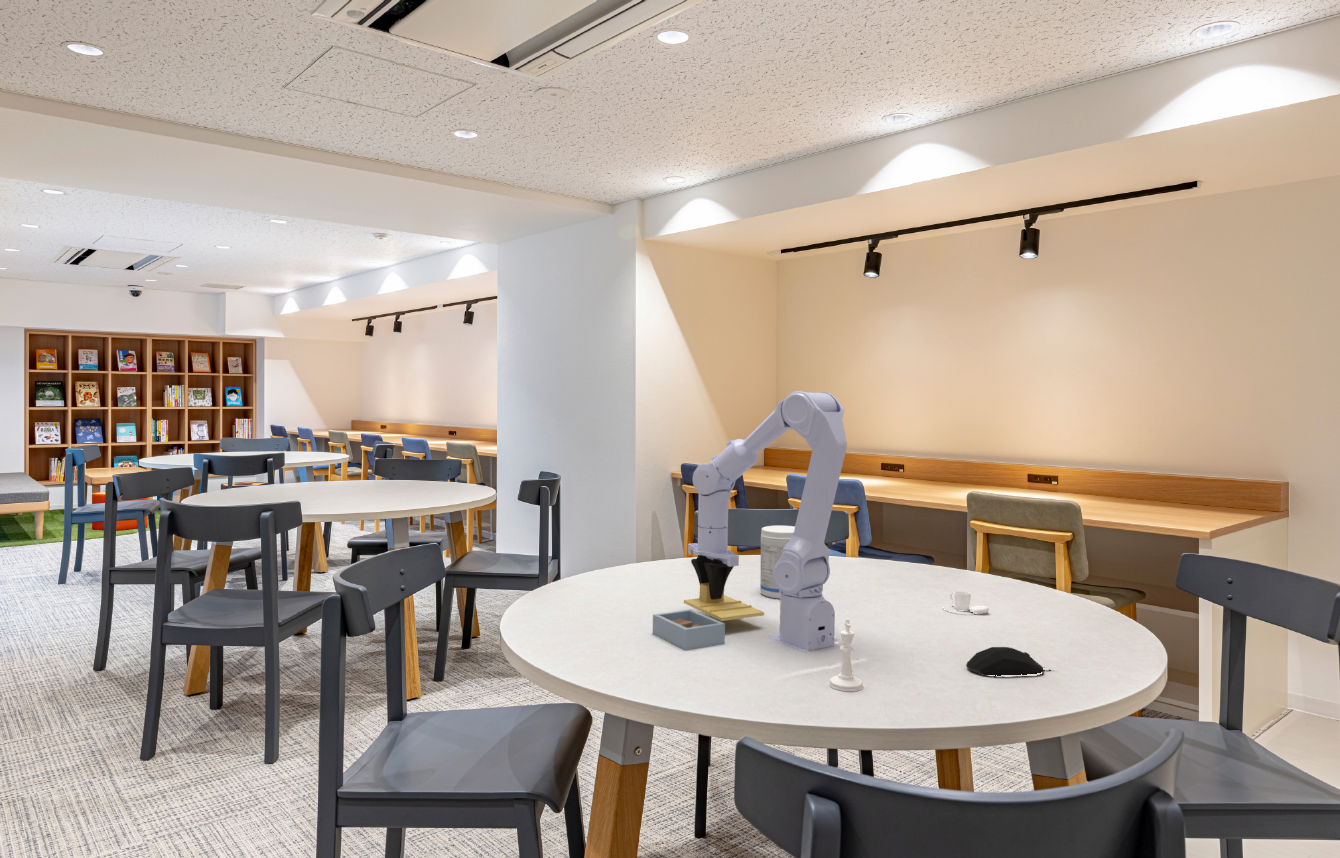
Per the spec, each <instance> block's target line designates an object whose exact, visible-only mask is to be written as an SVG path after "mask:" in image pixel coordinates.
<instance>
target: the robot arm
mask: <svg viewBox="0 0 1340 858" xmlns="http://www.w3.org/2000/svg"><path fill="white" fill-rule="evenodd" d="M844 413H845V409H844V407H843V406H842V405H841V403H840V401H839V400H838V399H837V397H835V396H834V395H833V394H832V393H830V392H825V391H824V392H823V391H822V392H809V391H808V392H805V391H799V390H796V391H793V392H790V393H789V394H787V396H785V398H784V399H782V400H780V401H779V402H778V403H777V404H776V407H775V409H773V411H772V412H771V413H770V414H769V415H768V416H767V417H766V418H765V419H764V420H763V421H761V422H760V424H759V425H757V427H756V428H755V429H754V430H753V431H752V432H751V433H750V434H749V435H748V436H747V437H746V438H745V439H742V438H737V439H731V440H729V441H727V443H726V445H727V447H725V448H724V449H723V450H722V451H721V452H720V453H718V455H714V456H713V457H711V461H710V462H709V463H701V464H699V465H697V467H696V469H695V470H694V471H693V473H692V484H693V488H694V489H695V491H696V492H697V494H698V503H697V504H698V505H697V506H698V512H697V514H698V515H697V516H698V517H697V542H694V543H688V544H687V553H688V554H689V555H696V556H697V557H696V558H692V559H691V561H690V562H691V565H692V567H693V568H694V570H695V573H696V575H697V579H698V583H699V585H700V583H709V591H710V598H711V599H712V600H714V599H721V598H722V594H723V590H724V591H725V588H726V587H725V586H726V583H727V581H728V578H729V575H730V574H731V572H732V571H733V569H734V568H735V567H739V565H740V564H739V562H740V560H739V559H740V558H739V557H740V556H739V555H738V554H736V553H734V552H732V551H731V550H730V549H728V542H729V541H728V539H729V536H728V535H729V533H728V532H729V527H728V526H729V500H730V499H731V492H732V490H733V489H734V487H735V484H736V481H737V479H739V478H740V477H741V476H743V475H744V474H745V473H746V472H747V471H748V470H749V469H751V468H752V467H753V466H754V465H755V464H756V463H757V462H758V453H759V452H761V451H762V450H764V449H765V448H766V447H768V446H769V445H770V444H771V443H773V442H774V441H776V440H777V439H778V438H779V437H781V436H782V435H783V434H785V433H786V432H787V431H789V430H794V431H795V432H796V433H797V434H798V435H800V436H801V437H802V438H803V439H804V440H805V441H806V443H807V444H808V445H809V447H810V449H811V455H810V460H809V465H808V469H807V473H806V478H805V481H804V486H803V489H802V495H801V498H800V499H801V500H800V504H799V507H798V512H797V518H796V521H795V525H794V527H795V529H794V534H793V537H792V538H791V539H790V541H789V542H788V543H787V544H786V545H785V547H784V548H783V550H782V554H781V557H780V559H779V560H778V561H777V562H776V564H775V565H774V568H773V580H774V583H775V585H776V586H777V588H778V589H779V594H780V599H779V602H780V605H779V634H778V635H777V634H776V635H773V636H769V639H772V640H774V641H776V642H778V643H781V644H783V645H786V646H788V647H791V648H794V649H796V650H798V651H800V652H809V651H814V650H815V651H816V650H820V649H825V648H830V647H837V646H838V645H839V644H837V643H836V642H835V631H836V630H835V628H836V625H835V620H836V613H835V609H834V606H833V604H832V603H831V602H830V601H828V600H827V599H825V597H824V596H823V591H824V584H826V583H827V582H828V580H829V578H830V575H831V574H830V573H831V568H830V563H829V559H830V557H829V556H830V553H831V550H830V549H829V547H828V546H827V545H826V543H825V540H826V536H827V532H828V531H827V530H828V528H829V523H830V519H831V515H832V510H833V506H834V503H835V499H836V498H835V497H836V493H837V489H838V485H839V481H840V476H841V473H842V468H843V463H844V460H845V455H846V451H847V445H848V442H847V438H846V432H845V427H844V421H843V418H844Z"/></svg>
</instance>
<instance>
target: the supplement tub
mask: <svg viewBox="0 0 1340 858" xmlns="http://www.w3.org/2000/svg"><path fill="white" fill-rule="evenodd" d="M794 529H795V525H794V526H792V525H767V526H764V527H762V528H761V532H760V533H761V534H760V584H759V585H760V590H759V591H760V593H761V594H762V595H763V596H765V597H766V598H767V597H768V598H770V599H771V598H772V599H778V600H780V594H779V589H778V588H777V586H776V585H775V583H774V580H773V568H774V565H775V564H776V562H777V561H778V560H779V559H780V557H781V554H782V550H783V548H784V547H785V545H786V544H787V543H788V542H789V541H790V539H791V538H792V537H793V534H794Z"/></svg>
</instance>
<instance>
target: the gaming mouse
mask: <svg viewBox="0 0 1340 858" xmlns="http://www.w3.org/2000/svg"><path fill="white" fill-rule="evenodd" d="M1030 655H1031V654H1029V652H1022V651H1021V650H1018V649H1016V648H1013V647H1008V646H991V647H989V648H986V649H982V650H981V651H978V652H976V653H975V654H974V655H972V657H970V659H969V660H968V661H967V662H966V664H965V665H966V668H967V669H968V670H970V671H971V672H973V673H975V672H976V674H978V673H980V674H979V675H981V674H983V675H982V676H984V675H995V676H996V675H997V676H1001V675H1021V674H1022V675H1027V674H1037V673H1041V672H1043V673H1044V671H1043V668H1044V667H1043V666H1042V665H1041V664H1040V663H1038V662H1037V661H1036V660H1035V659H1034V658H1033V657H1031V656H1030Z"/></svg>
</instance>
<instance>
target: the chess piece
mask: <svg viewBox="0 0 1340 858" xmlns="http://www.w3.org/2000/svg"><path fill="white" fill-rule="evenodd" d="M844 626H845V630H844V629H843V630H841V631H840V637H841V640H842V642H843V643H842V645H840V647H839V650H840V651H843V655H842V662H841V669H840V672H838V675H834V676H831V677H830V679H829V682H828V683H829V685H828V686H829V687H831V689H833V690H836V691H841V692H849V693H850V692H859V691H861V690H863V688H864V686H863V680H861V679H860V678H858V677H856V676H855V674H854V673H853V670H852V659H851V652H854V651H855V647H853V646H852V642H853V638H854V637H855V632H854V631H852V630H850V629H851V624H850V619H849V618H845V621H844Z"/></svg>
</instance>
